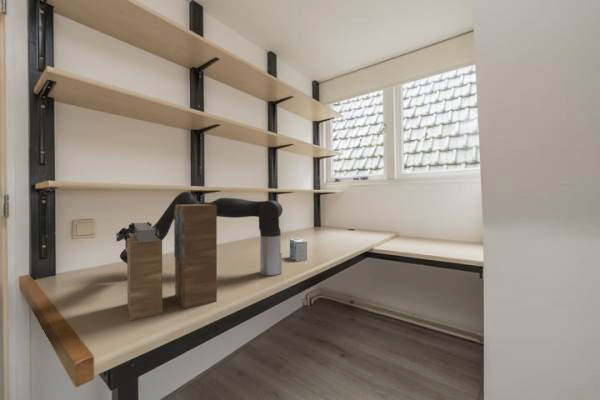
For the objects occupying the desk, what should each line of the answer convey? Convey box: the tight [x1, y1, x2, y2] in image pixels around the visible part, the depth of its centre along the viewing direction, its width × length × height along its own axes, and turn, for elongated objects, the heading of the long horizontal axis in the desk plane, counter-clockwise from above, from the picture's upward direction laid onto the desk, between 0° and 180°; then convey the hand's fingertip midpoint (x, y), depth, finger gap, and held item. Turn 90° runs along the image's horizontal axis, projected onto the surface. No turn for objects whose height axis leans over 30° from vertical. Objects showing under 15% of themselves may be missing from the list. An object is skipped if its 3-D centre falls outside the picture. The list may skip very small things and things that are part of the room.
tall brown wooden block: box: [173, 204, 218, 310], centre depth 88 cm, size 14×11×32 cm
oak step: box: [126, 236, 163, 321], centre depth 80 cm, size 14×8×22 cm, turn 37°
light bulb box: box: [289, 237, 308, 261], centre depth 146 cm, size 11×7×11 cm, turn 24°
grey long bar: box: [133, 222, 155, 243], centre depth 83 cm, size 22×4×4 cm, turn 37°
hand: (140, 225), depth 88 cm, fingers closed on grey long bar, 4 cm apart
